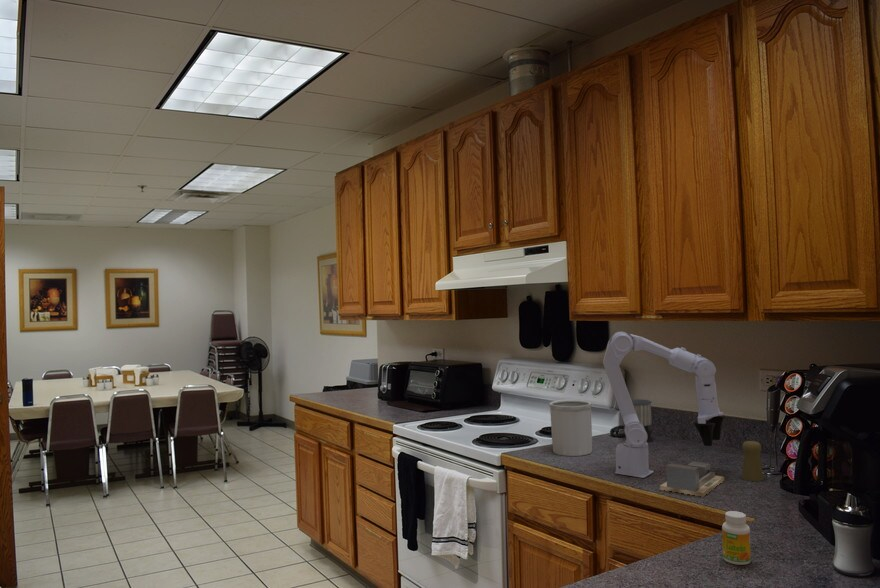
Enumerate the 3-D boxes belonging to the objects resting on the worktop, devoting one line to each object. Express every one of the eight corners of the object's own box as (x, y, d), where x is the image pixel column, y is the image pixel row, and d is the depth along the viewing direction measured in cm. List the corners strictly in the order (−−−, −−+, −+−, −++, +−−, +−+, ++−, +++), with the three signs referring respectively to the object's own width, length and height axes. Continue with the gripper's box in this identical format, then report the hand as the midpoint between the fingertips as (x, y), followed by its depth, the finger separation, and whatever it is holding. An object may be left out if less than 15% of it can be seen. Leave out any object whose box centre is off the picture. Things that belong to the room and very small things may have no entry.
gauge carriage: (687, 476, 195) (687, 464, 195) (693, 472, 198) (693, 461, 198) (714, 480, 190) (714, 468, 190) (719, 476, 193) (719, 464, 193)
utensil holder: (547, 455, 229) (546, 405, 229) (554, 445, 243) (552, 398, 243) (590, 458, 225) (589, 406, 224) (594, 447, 239) (593, 399, 239)
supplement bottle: (723, 563, 137) (722, 517, 137) (722, 553, 142) (721, 508, 142) (752, 566, 135) (750, 519, 135) (749, 556, 140) (748, 511, 140)
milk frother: (653, 443, 243) (652, 403, 243) (609, 441, 248) (608, 402, 248) (652, 435, 257) (651, 397, 257) (610, 433, 261) (609, 396, 261)
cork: (744, 474, 200) (743, 438, 200) (766, 477, 196) (765, 440, 196) (739, 479, 195) (738, 442, 195) (761, 482, 191) (760, 444, 191)
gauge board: (660, 489, 187) (659, 480, 187) (683, 474, 202) (683, 465, 202) (703, 497, 180) (703, 487, 179) (724, 480, 194) (724, 471, 194)
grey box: (666, 486, 186) (666, 465, 186) (670, 484, 188) (670, 463, 188) (695, 491, 181) (695, 469, 181) (699, 489, 183) (698, 467, 183)
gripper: (713, 402, 191) (718, 449, 191) (728, 393, 202) (733, 437, 202) (688, 402, 196) (693, 447, 196) (704, 393, 207) (709, 436, 207)
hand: (712, 442), depth 199 cm, fingers open, 7 cm apart
